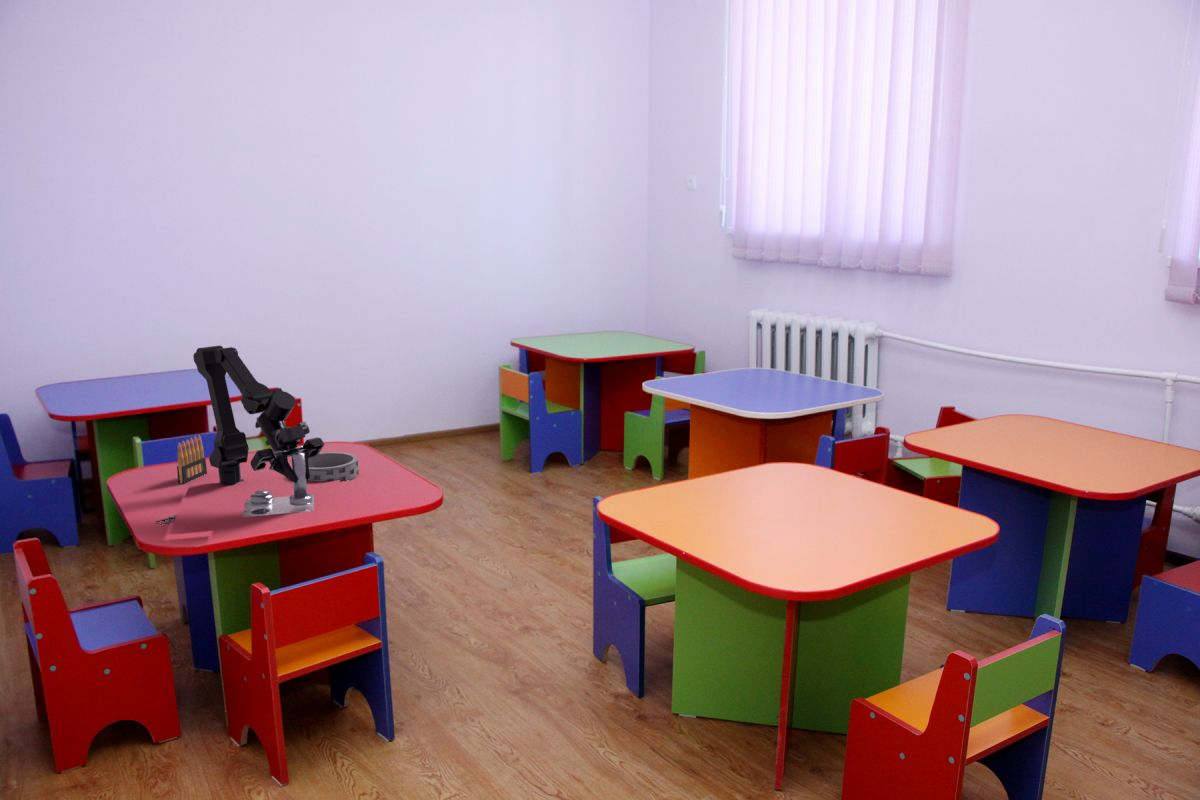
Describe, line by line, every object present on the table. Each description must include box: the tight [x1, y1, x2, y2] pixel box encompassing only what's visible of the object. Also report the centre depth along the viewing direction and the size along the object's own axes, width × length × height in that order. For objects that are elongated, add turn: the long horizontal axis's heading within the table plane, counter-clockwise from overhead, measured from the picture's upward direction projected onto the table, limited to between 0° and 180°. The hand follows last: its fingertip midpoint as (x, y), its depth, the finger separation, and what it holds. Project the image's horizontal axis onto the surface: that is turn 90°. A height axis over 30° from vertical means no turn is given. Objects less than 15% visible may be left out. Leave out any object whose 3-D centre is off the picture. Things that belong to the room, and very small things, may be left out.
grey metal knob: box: [250, 489, 274, 504], centre depth 248 cm, size 6×6×2 cm
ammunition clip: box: [176, 434, 208, 485], centre depth 271 cm, size 11×2×12 cm, turn 167°
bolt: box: [289, 452, 312, 506], centre depth 242 cm, size 6×6×13 cm
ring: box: [306, 451, 360, 483], centre depth 274 cm, size 18×18×5 cm
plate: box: [242, 494, 315, 518], centre depth 245 cm, size 14×17×1 cm
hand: (302, 480), depth 241 cm, fingers closed on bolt, 3 cm apart
